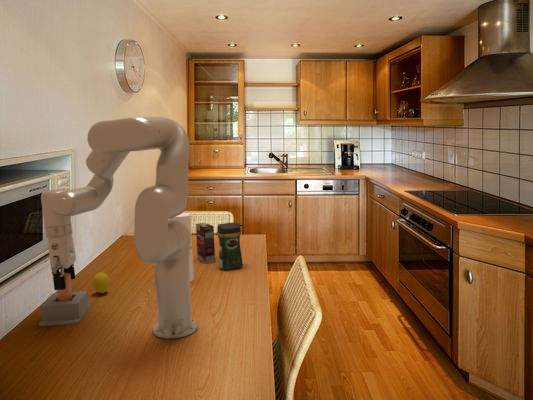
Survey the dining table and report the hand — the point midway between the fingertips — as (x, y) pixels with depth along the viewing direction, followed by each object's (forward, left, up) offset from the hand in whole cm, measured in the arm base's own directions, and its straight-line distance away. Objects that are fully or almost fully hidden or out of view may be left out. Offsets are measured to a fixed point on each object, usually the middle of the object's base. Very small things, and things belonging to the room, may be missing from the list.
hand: (65, 284), depth 144 cm
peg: (0, +1, -9) cm, 9 cm away
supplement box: (+51, -42, -10) cm, 67 cm away
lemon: (+17, -6, -10) cm, 21 cm away
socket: (0, +1, -10) cm, 10 cm away
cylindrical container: (+27, -34, -10) cm, 45 cm away
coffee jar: (+39, -52, -10) cm, 66 cm away
